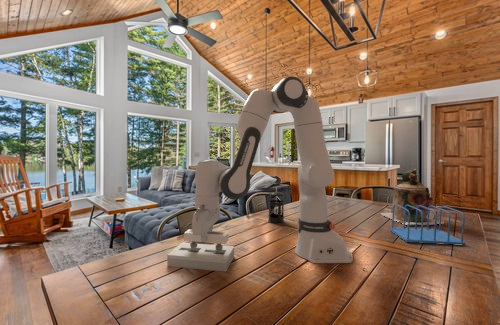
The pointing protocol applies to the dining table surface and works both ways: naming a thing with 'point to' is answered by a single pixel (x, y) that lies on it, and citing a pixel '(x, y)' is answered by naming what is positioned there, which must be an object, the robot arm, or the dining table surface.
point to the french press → (276, 217)
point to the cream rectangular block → (211, 238)
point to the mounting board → (201, 257)
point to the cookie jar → (411, 200)
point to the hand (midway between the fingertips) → (206, 238)
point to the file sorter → (427, 234)
